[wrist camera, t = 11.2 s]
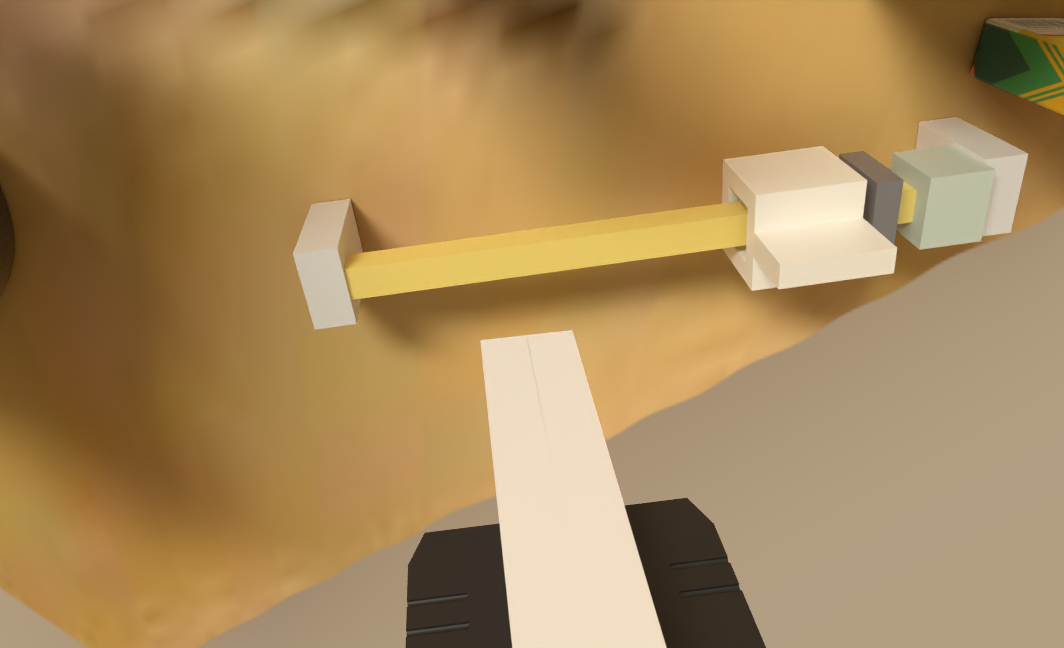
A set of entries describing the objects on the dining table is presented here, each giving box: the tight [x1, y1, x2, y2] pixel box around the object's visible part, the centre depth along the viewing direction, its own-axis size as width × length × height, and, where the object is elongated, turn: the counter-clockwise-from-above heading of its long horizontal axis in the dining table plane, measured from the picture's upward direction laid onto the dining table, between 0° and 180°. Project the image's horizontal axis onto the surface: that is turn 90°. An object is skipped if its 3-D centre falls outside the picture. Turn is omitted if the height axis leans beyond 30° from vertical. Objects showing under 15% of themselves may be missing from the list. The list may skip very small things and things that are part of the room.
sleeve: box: [722, 146, 897, 291], centre depth 37 cm, size 5×5×8 cm
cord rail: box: [293, 117, 1028, 330], centre depth 39 cm, size 34×4×7 cm, turn 96°
